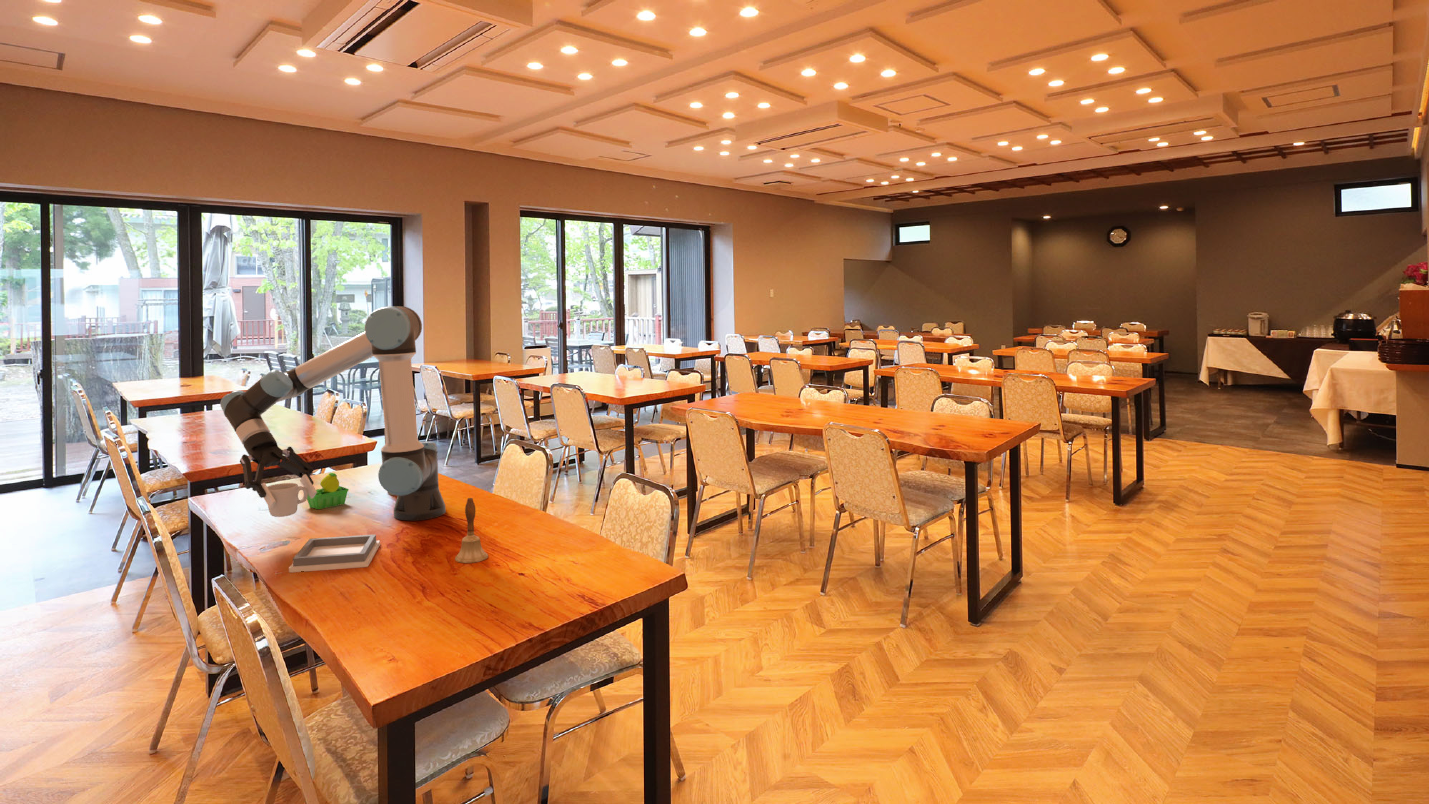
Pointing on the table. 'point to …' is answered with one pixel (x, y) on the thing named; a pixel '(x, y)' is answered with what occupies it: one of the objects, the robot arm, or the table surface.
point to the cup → (286, 498)
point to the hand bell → (471, 539)
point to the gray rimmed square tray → (335, 553)
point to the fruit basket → (328, 493)
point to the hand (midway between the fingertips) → (293, 500)
